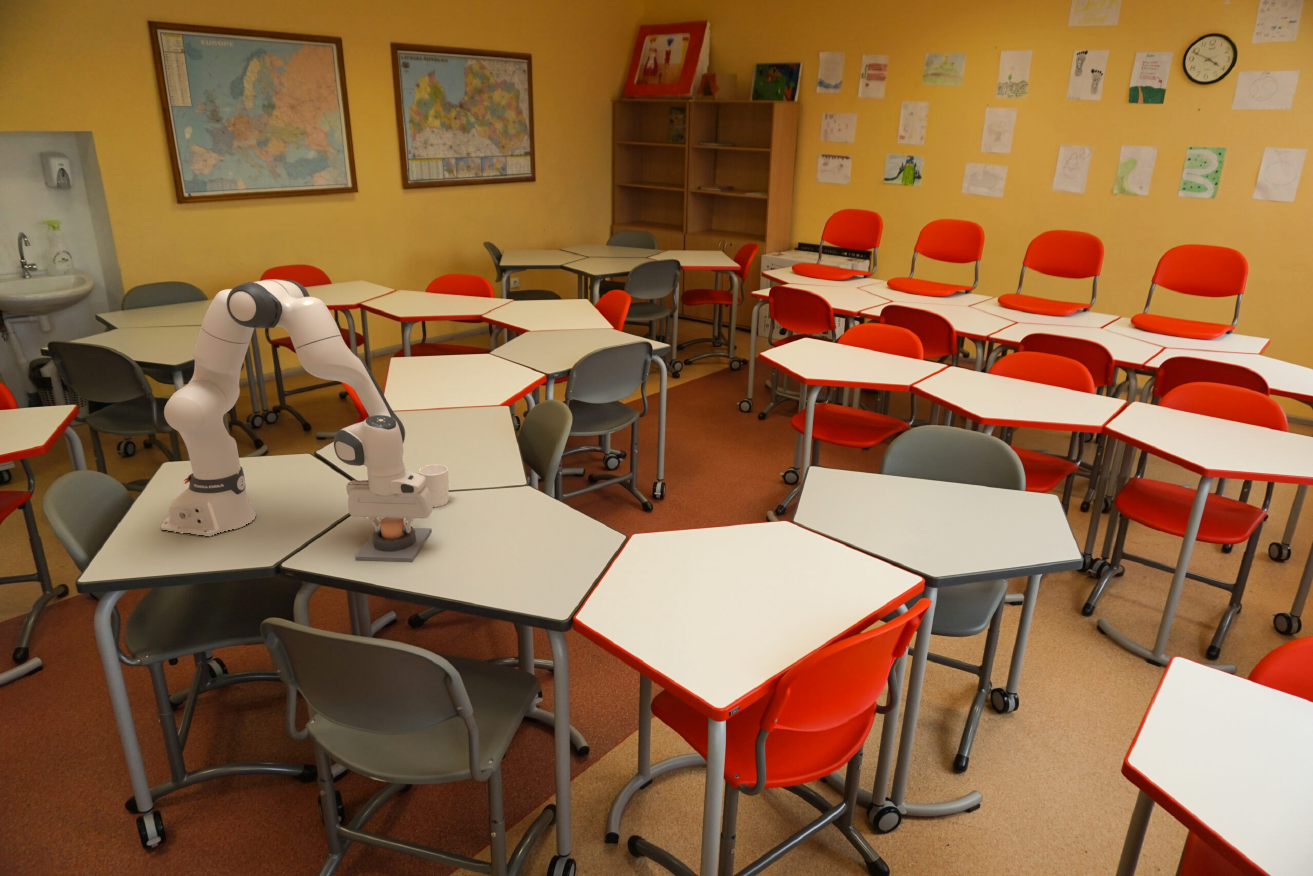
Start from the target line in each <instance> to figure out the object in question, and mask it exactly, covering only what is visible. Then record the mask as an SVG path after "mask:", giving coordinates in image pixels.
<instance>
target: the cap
mask: <svg viewBox="0 0 1313 876" xmlns="http://www.w3.org/2000/svg"><path fill="white" fill-rule="evenodd" d="M404 519H405V518H389V517H382V519H380V520H379V521H380V522H379V523H380V525H381V533H382V539H385V540H394V539H398V538H402V537H404V536H405V533H403V529H402V527H403V526H404V524H405V520H404Z"/></svg>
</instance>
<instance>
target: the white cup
mask: <svg viewBox="0 0 1313 876" xmlns="http://www.w3.org/2000/svg"><path fill="white" fill-rule="evenodd" d="M418 474H419V475H422V476H425V478H426V483H425V485H424V486H426V487H427V488H428V490H429V492H430V495H431V499H432V506H433V508H438V507H443V506H445V505H447V504H448V503H449V487H450V486H449V482H450V481H449V468H448V466H447V465H444V464H438V463H437V464H436V463H435V464H427V465H425V466H422V467H420V468H419V470H418Z"/></svg>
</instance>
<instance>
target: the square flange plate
mask: <svg viewBox="0 0 1313 876" xmlns="http://www.w3.org/2000/svg"><path fill="white" fill-rule="evenodd" d="M410 527H411V531H410V533H405V536H404V537H402V538H398V539H394V540H385V539H382V533H381V532H375V531H373V533H372V534H371V536H369V538H368V539H367V540H366V542H365V543H364V544H363V546H361V548H360V549H359V551H358V552H357V553H356V555H355V556H354V559H355V561H367V562H368V561H370V562H402V563H403V562H404V563H405V562H406V563H409V562H410V563H413V562H414V561H415V559H416V557H417V555H418V554H419V553H420V551H421V549H422V548H423V547H424V545H425V544H426V542H427V539H429V536H431V534H432V531H433V530H432V528H431V527H414V526H411V525H410Z"/></svg>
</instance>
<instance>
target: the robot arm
mask: <svg viewBox="0 0 1313 876" xmlns="http://www.w3.org/2000/svg"><path fill="white" fill-rule="evenodd" d="M203 317H204V318H203V320H202V323H201V326H200V330H199V332H198V335H197V338H196V342H195V346H194V349H193V350H192V358H193V360H194V369H193V370H194V371H193V374H192V377H191V379H190V380H189V381H188V383H187V384H185V385H184V386H183V387H181V388H180V389H178V390H177V391H175V392H173V394H172V395H171V397H170V398H169V399H168V400H167V402H166V404H165V406H164V410H163V414H164V418H165V421H166V423H167V424H168V425H169V426H170V427H171V428H172V429H174V430H176V431H177V432H178V433H179V435H180V436H181V438H182V441H183V442H184V444H185V447H186V449H187V452H188V457H189V462H190V467H191V471H192V473H190V474H189V475H188V476H187V477H186V478H184V479H183V481H184V483H183V484H185V485H187V483H189V484H188V485H189V486H188V488H186V489H185V490H183V492H181V493H180V494H179V495H178V496H177V497H176V498H174V499H173V500H172V501H171V503H170V506H169V508H168V509H169V511H168V514H169V515H168V517H166V518H165V519H164V520H163V521H162V523H161V525H160V530H161V529H162V530H170V531H176V532H183V533H192V534H199V535H205V536H209V537H212V536H211V535H213V536H215V535H214V534H216V535H218V534H217V533H219V534H221V533H224V531H226V532H229V531H228V530H230V531H233V530H232V529H234V530H238V529H239V528H242V527H244V526H247V525H249V524H250V523H252V522H253V521H254V520H255V519H256V518H255V516H256V517H257V513H256V511H255V510H254V508H253V505H252V504H251V501H250V498H249V496H248V493H247V489H246V488H247V487H246V486H247V485H246V479H245V478H246V477H245V473H244V470H243V467H242V466H241V463H240V457H239V452H238V444H237V441H236V439H235V438H234V437H233V436H231V435H230V434H229V432H228V430H227V428H226V426H225V423H224V415H225V414H227V413H228V412H229V411H230V410H231V409H233V408H234V406H235V405H236V403H237V400H238V398H239V397H240V392H241V389H240V380H241V370H242V367H243V364H244V360H245V357H246V353H247V352H248V349H249V346H250V343H251V339H252V336H253V333H254V330H255V329H274V328H275V327H280V328H282V329H284V330H285V331H286V332H287V334H288V335H289V337H290V340H291V343H292V345H293V348H294V350H295V353H296V355H297V359H298V361H299V363H300V364H301V366H302V367H303V369H304V370H305V371H306V372H307V373H308V374H310V375H312V376H314V377H315V378H319V379H321V380H326V381H336V382H341V383H344V384H346V385H348V386H350V387H351V388H352V389H353V390H354V392H355V393H356V394H357V396H358V398H359V400H360V402H361V403H362V405H363V407H364V409H365V411H366V413H367V414H368V417H366V418H365V419H364V420H363V421H361V422H357V423H353V424H351V425H348V426H346V427H343V428H342V429H341V428H340V430H338V431H337V432H336V433H335V435H334V437H333V449H334V452H335V455H336V457H337V458H338V460H339V461H341V462H342V463H343V464H346V465H349V466H356V467H358V466H359V467H360V466H364V467H366V468H367V469H366V470H367V480H365V479H363V480H357V479H353V480H351V481H349V482H347V484H346V493H347V495H348V499H347V505H348V506H347V509H348V514H349V515H350V516H351V517H357V518H359V517H362V518H368V521H369V522H370V524H372V526H373V527H374V532H381V525H380V522H379V520H378V519H377V518H385V517H389V518H403V519H405V522H407V523H404V526H403V527H402V529H403V533H410V531H411V527H410V526H411V525H412V523H413V521H414V519H426V520H427V519H428V518H429V517H430V515H431V514H432V512H433V510H434V509H433V508H434V507H433V506H432V499H431V495H430V492H429V490H428V488H427V487H426V486H424V485H425V483H426V478H425V476H422V475H419V473H415V472H413V471H411V470H407V469H406V465H405V463H404V460H403V457H404V442H405V439H406V430H405V427H404V424H403V422H402V421H401V419H400V418H399V417H398V415H397V414H396V413H395V412H394V411H393V409H392V407H391V406H390V404H389V402H388V400H387V399H386V396H385V395H384V393H383V391H382V389H381V388H380V386H379V384H378V382H377V380H376V379H375V377H374V376H373V373H372V372H371V370H370V368H369V366H368V365H367V364H366V362H365V361H364V360H363V359H362V357H360V356H359V355H358V356H357V355H355V354H354V353H353V352H352V351H351V350H350V348H349V347H348V346H347V344H346V342H345V340H344V339H343V336H342V333H341V332H340V329H339V327H338V325H337V322H336V320H335V319H334V317H333V315H332V313H331V311H330V309H329V308H328V307H327V305H326V303H325V302H324V301H323V300H322V299H320V298H318V297H314V296H311V295H310V293H309V292H308V290H307V288H306V287H305V286H304V285H302V284H301V283H299V282H297V281H295V280H291V279H263V280H257V281H252V282H251V281H249V282H244V283H241V284H239V285H236V286H235V287H233V288H227V289H223V290H220V291H219V292H218V293H216V294H215V296H214V298H213V299H212V301H211V303H210V304H209V306H208V309H207V311H206V313H205V315H204V316H203ZM252 520H253V521H252ZM248 523H249V524H248ZM246 524H247V525H246ZM162 530H161V531H162ZM176 532H175V533H176ZM220 532H221V533H220ZM183 533H182V534H183ZM205 536H204V537H205Z"/></svg>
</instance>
